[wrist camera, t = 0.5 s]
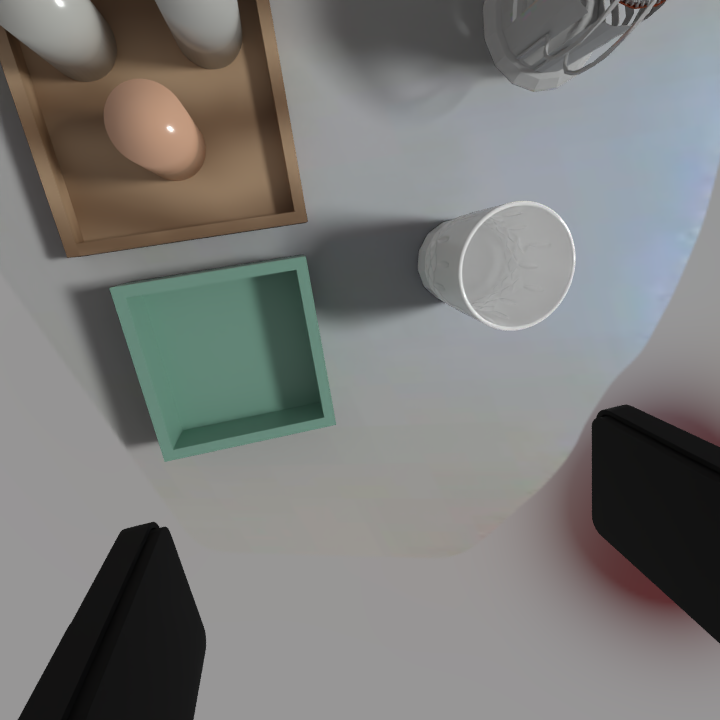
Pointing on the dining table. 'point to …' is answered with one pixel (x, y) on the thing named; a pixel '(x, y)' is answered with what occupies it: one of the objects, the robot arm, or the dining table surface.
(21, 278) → the dining table surface
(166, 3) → the pebble
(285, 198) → the tray
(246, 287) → the bin
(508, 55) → the french press
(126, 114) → the brown smooth lump
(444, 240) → the white cup
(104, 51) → the pebble
